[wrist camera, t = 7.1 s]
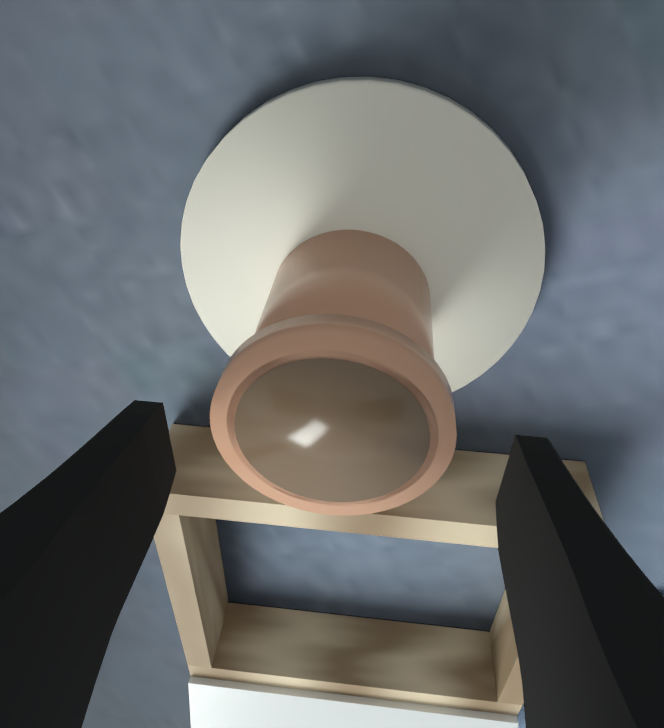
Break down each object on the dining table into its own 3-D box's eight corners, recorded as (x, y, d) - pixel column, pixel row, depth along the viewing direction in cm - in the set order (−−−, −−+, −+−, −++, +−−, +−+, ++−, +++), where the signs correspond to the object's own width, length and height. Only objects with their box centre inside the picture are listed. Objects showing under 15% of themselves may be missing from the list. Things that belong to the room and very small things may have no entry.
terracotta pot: (456, 222, 17) (477, 346, 12) (431, 381, 20) (439, 526, 15) (254, 210, 17) (194, 326, 12) (264, 368, 21) (221, 506, 16)
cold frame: (584, 461, 23) (647, 658, 17) (465, 747, 40) (474, 893, 34) (172, 423, 24) (93, 595, 18) (229, 717, 41) (199, 854, 35)
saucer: (586, 87, 15) (594, 94, 14) (500, 409, 22) (503, 424, 21) (163, 66, 16) (153, 72, 15) (207, 384, 22) (201, 397, 22)
